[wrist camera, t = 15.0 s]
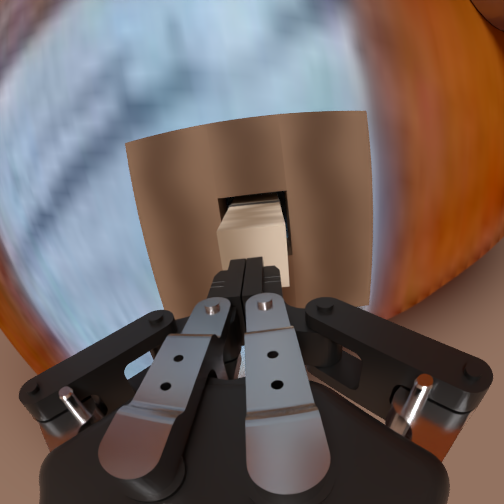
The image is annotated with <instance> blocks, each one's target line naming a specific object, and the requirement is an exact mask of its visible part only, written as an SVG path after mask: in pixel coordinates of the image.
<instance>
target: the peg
mask: <svg viewBox="0 0 504 504" xmlns="http://www.w3.org/2000/svg"><path fill="white" fill-rule="evenodd" d="M228 207H229V208H228V210H227V212H226V214H225V216H224V218H223V220H222V222H221V224H220V226H219V227H218V229H217V231H216V232H217V238H218V245H219V251H220V257H221V263H222V269H223V270H228V267H229V263H230V260H233V259H242V258H246V260H247V258H252V257H263V263H264V266H273V265H275V266H276V267H277V268H278V269H279V270H280V276H281V285H282V287H289V286H290V285H289V269H288V254H287V240H286V226H285V221H284V218H283V214H282V210H281V206H280V200H279V199H278V195H277V192H273V193H262V194H252V195H242V196H235V197H234V199H233V201H232V203H231V205H229V206H228Z"/></svg>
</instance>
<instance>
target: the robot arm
mask: <svg viewBox="0 0 504 504" xmlns="http://www.w3.org/2000/svg"><path fill="white" fill-rule="evenodd" d="M471 1H472V3H473V4H474V5H475V7H476V8H477V9H478V10H479V12H480V13H481V14H482V15H483V16H484V17H485V18H486V19H487V20H488V21H489V22H490V23H491V24H492V25H494V26H495V27H496V28H498V29H500V30H502V31H504V0H471ZM241 346H245V374H246V377H242V378H238V374H239V370H240V365H241V354H240V352H241ZM342 347H345V348H347V349H349V350H351V351H353V352H355V353H356V354H357V355H358V356H359V357H360V358H361V360H362V361H361V360H359V359H358V358H356V357H354V356H352V355H350V354H348V353H347V352H345V351H343V350H342ZM148 351H150V353H151V355H152V357H153V360H154V361H153V363H152V364H151V365H150V366H149V367H147V368H146V369H144V370H143V371H141V372H140V373H138V374H136V375H135V376H133V377H132V378H130V379H128V380H127V379H126V377H125V375H124V370H125V367H126V366H127V365H128V364H129V363H131V362H132V361H134V360H136V359H137V358H139V357H140V356H142V355H144V354H145V353H147V352H148ZM304 365H306V367H307V370H308V371H309V372H310V373H311V374H312V375H314V376H315V377H317V378H319V379H320V380H321V381H323V382H325V383H326V384H328V385H329V386H331V387H332V388H334V389H335V390H337V391H338V392H340V393H341V394H343V395H345V396H346V397H348V398H350V399H351V400H353V401H354V402H356V403H358V404H359V405H361V406H362V407H364V408H366V409H367V410H369V411H371V412H372V413H374V414H376V415H378V416H379V417H381V418H383V419H384V420H385V424H383V423H381V422H380V421H378V420H377V419H375V418H373V417H372V416H371V415H369V414H367V413H366V412H364V411H363V410H361V409H360V408H358V407H357V406H355V405H354V404H352V403H351V402H349V401H348V400H347V399H345V398H344V397H342V396H341V395H339V394H338V393H336V392H335V391H333V390H332V389H330V388H328V387H326V386H324V385H322V384H319V383H317V382H313V381H309V380H308V377H307V374H306V369H305V366H304ZM492 381H493V373H492V370H491V368H490V367H489V365H488V364H487V363H486V362H485V361H483V360H481V359H479V358H477V357H475V356H472V355H470V354H467V353H465V352H462V351H460V350H458V349H455V348H453V347H450V346H448V345H445V344H443V343H440V342H438V341H436V340H433V339H431V338H429V337H426V336H424V335H421V334H419V333H416V332H414V331H412V330H409V329H407V328H405V327H402V326H400V325H397V324H395V323H392V322H390V321H388V320H386V319H383V318H381V317H379V316H376V315H374V314H371V313H369V312H367V311H364V310H362V309H360V308H357V307H355V306H353V305H350V304H348V303H346V302H343V301H341V300H339V299H336V298H332V297H320V298H316V299H313V300H311V301H310V302H308V303H307V304H306V306H305V308H296V307H293V306H290V305H288V304H287V303H286V302H285V301H284V300H283V293H282V285H281V276H280V270H279V269H278V268H277V267H276V266H275V265H273V266H264V263H263V257H252V258H247V260H246V258H242V259H233V260H230V263H229V267H228V270H223V271H220V272H218V273H217V274H216V275H215V276H214V279H213V281H212V284H211V288H210V290H209V293H208V296H207V299H205V300H202V301H201V302H199V303H198V304H197V305H196V306H195V307H194V309H193V311H192V313H191V315H190V316H188V317H185V318H180V319H176V320H175V318H174V315H173V313H172V312H170V311H168V310H157V311H153V312H150V313H148V314H146V315H144V316H143V317H141V318H139V319H137V320H135V321H134V322H132V323H130V324H128V325H127V326H125V327H123V328H121V329H119V330H118V331H116V332H114V333H112V334H111V335H109V336H107V337H105V338H103V339H102V340H100V341H98V342H96V343H94V344H93V345H91V346H89V347H87V348H86V349H84V350H82V351H80V352H78V353H77V354H75V355H73V356H71V357H69V358H68V359H66V360H64V361H62V362H60V363H59V364H57V365H55V366H53V367H52V368H50V369H48V370H46V371H44V372H43V373H41V374H39V375H37V376H35V377H34V378H32V379H30V380H28V381H27V382H26V383H25V384H24V385H23V386H22V388H21V390H20V392H19V399H20V401H21V402H22V404H23V405H24V406H25V407H26V408H27V410H28V411H29V412H30V413H31V415H32V416H33V418H34V420H35V421H36V422H37V423H38V424H39V425H40V428H41V431H42V434H43V436H44V439H45V441H46V444H47V446H48V449H49V451H50V453H49V454H48V455H47V457H46V458H45V459H44V461H43V463H42V465H41V469H40V474H39V485H40V503H39V504H447V501H448V497H449V490H450V489H449V488H450V484H449V477H448V474H447V471H446V469H445V467H444V465H443V464H442V461H443V459H444V458H445V456H446V455H447V453H448V452H449V450H450V448H451V447H452V445H453V443H454V441H455V440H456V438H457V436H458V434H459V433H460V431H461V430H462V429H463V427H464V426H465V424H466V423H467V422H468V420H469V419H470V417H471V416H472V414H473V413H474V411H475V410H476V408H477V407H478V405H479V403H480V402H481V400H482V399H483V397H484V395H485V394H486V392H487V390H488V389H489V387H490V385H491V383H492Z"/></svg>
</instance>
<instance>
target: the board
mask: <svg viewBox="0 0 504 504" xmlns="http://www.w3.org/2000/svg"><path fill="white" fill-rule="evenodd" d="M125 146H126V153H127V159H128V165H129V170H130V176H131V181H132V186H133V191H134V196H135V201H136V206H137V210H138V215H139V219H140V224H141V228H142V232H143V236H144V240H145V244H146V248H147V252H148V256H149V259H150V263H151V267H152V270H153V274H154V277H155V281H156V284H157V287H158V291H159V294H160V297H161V301H162V304H163V307H164V310H168V311H170V312H172V313H173V315H174V318H175V320H176V319H180V318H185V317H188V316H190V315H191V313H192V311H193V309H194V307H195V306H196V305H197V304H198V303H199V302H201V301H202V300H205V299H207V296H208V293H209V290H210V288H211V284H212V281H213V279H214V276H215V275H216V274H217V273H218V272H220V271H223V269H222V263H221V257H220V251H219V245H218V238H217V232H216V231H217V229H218V227H219V226H220V224H221V222H222V220H223V218H224V216H225V214H226V212H227V210H228V208H227V201H226V197H233V196H241V195H249V194H258V193H267V192H276V191H284V197H285V207H286V217H287V228H288V238H286V240H287V254H288V269H289V285H290V286H289V287H282V293H283V300H284V301H285V302H286V303H287V304H288V305H290V306H293V307H296V308H305V306H306V304H307V303H308V302H310V301H311V300H313V299H316V298H320V297H332V298H336V299H339V300H341V301H343V302H346V303H348V304H350V305H353V306H355V307H358V306H365V305H369V297H370V284H371V268H372V243H373V195H372V170H371V155H370V142H369V131H368V122H367V113H366V111H322V112H302V113H288V114H277V115H267V116H258V117H250V118H242V119H235V120H228V121H222V122H216V123H210V124H205V125H199V126H194V127H189V128H184V129H180V130H175V131H171V132H166V133H162V134H158V135H154V136H150V137H146V138H142V139H139V140H135V141H131V142H128V143H125Z"/></svg>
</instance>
